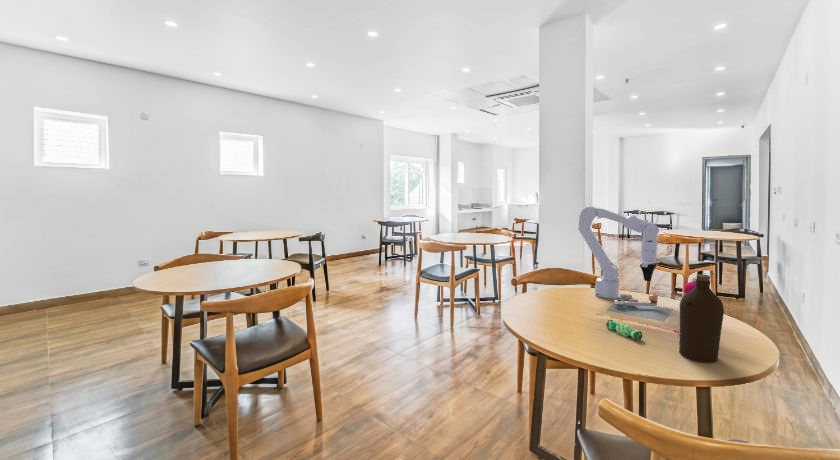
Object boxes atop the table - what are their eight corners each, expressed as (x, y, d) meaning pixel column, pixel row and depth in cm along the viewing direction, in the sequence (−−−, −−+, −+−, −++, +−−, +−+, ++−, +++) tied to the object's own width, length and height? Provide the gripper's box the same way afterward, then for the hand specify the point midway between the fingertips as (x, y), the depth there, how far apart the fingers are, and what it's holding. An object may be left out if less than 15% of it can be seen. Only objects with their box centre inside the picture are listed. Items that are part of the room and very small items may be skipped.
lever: (615, 305, 154) (616, 295, 154) (612, 302, 158) (612, 293, 158) (659, 306, 152) (659, 296, 151) (654, 303, 156) (654, 293, 155)
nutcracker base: (606, 313, 153) (606, 301, 153) (619, 302, 166) (619, 292, 166) (663, 324, 140) (664, 312, 139) (672, 312, 153) (673, 300, 152)
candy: (604, 326, 136) (610, 317, 137) (610, 330, 138) (615, 321, 138) (632, 339, 125) (638, 328, 125) (638, 343, 126) (644, 333, 127)
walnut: (623, 304, 159) (623, 296, 159) (625, 302, 162) (626, 295, 162) (632, 306, 157) (633, 298, 157) (634, 304, 160) (635, 296, 159)
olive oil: (718, 367, 106) (724, 281, 104) (673, 356, 114) (678, 276, 111) (721, 355, 114) (728, 274, 111) (680, 345, 121) (684, 269, 118)
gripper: (656, 253, 155) (654, 285, 157) (663, 248, 166) (661, 278, 167) (636, 251, 160) (635, 282, 161) (645, 247, 170) (643, 276, 172)
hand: (647, 280), depth 165 cm, fingers closed
